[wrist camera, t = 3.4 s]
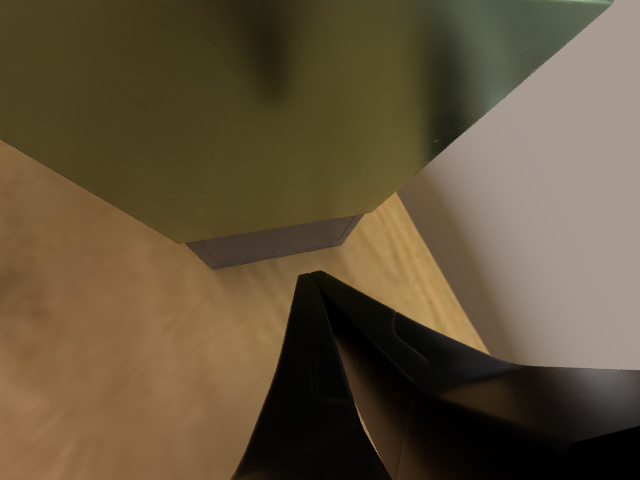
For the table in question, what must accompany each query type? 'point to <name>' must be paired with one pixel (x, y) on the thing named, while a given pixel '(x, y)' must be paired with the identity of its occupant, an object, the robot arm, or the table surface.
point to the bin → (273, 242)
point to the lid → (260, 98)
